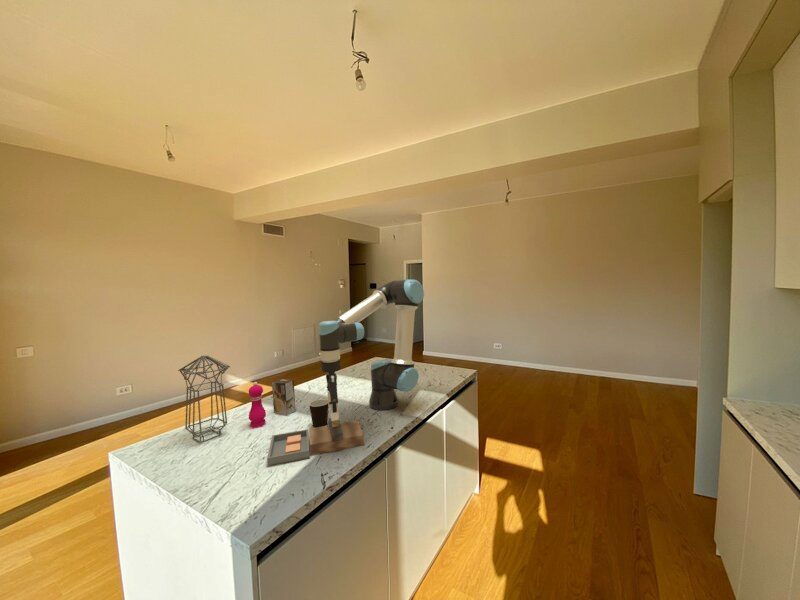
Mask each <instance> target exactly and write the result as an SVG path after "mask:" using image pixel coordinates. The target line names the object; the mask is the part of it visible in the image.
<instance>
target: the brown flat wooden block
mask: <svg viewBox="0 0 800 600" xmlns="http://www.w3.org/2000/svg"><path fill="white" fill-rule="evenodd" d="M340 425H341V428H342V432H343V440H340V441H334V442H332V437H331V432H330V427H329V424H327V425H326V426H322V427H316V428H315V427H312V428H309V429H308V430H309V455H310V456H315V455H320V454H324V453H331V452H335V451H340V450H341V451H342V450H345V449H350V448H355V447H360V446H365V437H364V432H363V429H362V428H361V425H360V423H359V420H353V421H346V422H345V421H344V422H340Z"/></svg>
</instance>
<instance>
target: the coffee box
mask: <svg viewBox="0 0 800 600" xmlns="http://www.w3.org/2000/svg"><path fill="white" fill-rule="evenodd" d="M294 381H295V380H294V379H287V378H286V379H285V378H279V379H276V380H274V381H272V382H271V389H272V406H273V414H274V413H275V414H276V415H284V416H289V415H291V414H292V413H294V412H296V411H297V408H296V395H295V382H294Z"/></svg>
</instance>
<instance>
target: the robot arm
mask: <svg viewBox="0 0 800 600" xmlns="http://www.w3.org/2000/svg"><path fill="white" fill-rule="evenodd" d="M424 297H425V291H424V287H423V285H422V284H421V282H420V281H418V280H417V279H398V280H392V281H389V282H387V283H385V284H383V285H382V286H380V287H379V288H377V289H375V290H374V291H373V292H372V295H370V296H368V297H367V298H365V299H364V300H362V301H361V302H358V304H356V305H355V306H353V307H352V308H350V309H348V310H347V311H345V312H343V313H342V314H341V315H339V316H337V317H336V318H335V319H333V320H325V321H324V320H323V321H321V322H320V323H319V324H318V338H319V350H320V351H319V353H318V356H320V371H321V372H323V373H326V374H325V380H326V390H327V400H328V409H330V418H331V421H335V420H339V421H340V418H339V417H340V416H339V397H338V386H337V385H338V381H337V380H338V375H337V373H336V372H338V371H340V370H341V360H340V359H341V349H340V348H341V347H340V344H344V343H350V342H357V341H359V340H362V339H363V338H364V336H365V327H364V325H363V324H362V323H361V321H363V320H364V319H365V318H367V317H369V316H370V315H372V313H374V312H376V311H378V310H379V309H381V308H385V307H386V306H388V305H391V304H394V306H395V308H396V309H397V314H396V328H395V341H394V355H393V359H391V358H389V359H387V358H386V359H380V360H376V361H373V362H372V363H371V364H370V380H371V394H370V397H369V400H368V401H369V404H368V405H369V407H370V409H372V410H377V411H387V410H392V409H395V408H396V407H398V406H399V398H398V396H397V392H396V391H399V392H404V393H406V392H407V393H408V392H411V391H412V390H413V389H414V388H415V387H416V386H417V384H418V381H419V371H418V370H417V369H416V368H415V362H414V361H413V359H412V358H413V357H412V356H413V344H414V327H415V314H416V313H415V312H416V310H417V309H419V304H421V302H423V299H424Z"/></svg>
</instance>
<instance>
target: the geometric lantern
mask: <svg viewBox="0 0 800 600" xmlns="http://www.w3.org/2000/svg"><path fill="white" fill-rule="evenodd" d="M206 363H207V364H206ZM201 365H202V366H201ZM213 365H216V368H217V369H213ZM206 367H208V368H206ZM229 368H231V366H230V365H229V364H226V363H225V362H222V361H220V360H218V359H215V358H213V357H211V356H209V355H201V356H199V357H198V358H196V359H194V360H192V361H191V362H189V363H188V364H186V365H184V366H182V367H181V368H179V369H178V370H177V371H178V372H180V374H181V375H182V377H183V380H185V385H186V403H185V405H186V406H185V426H184V427H185V428H184V429H185V430H186V431H188V433H190V434H192V439H193V440H194V441H196V442H198V443H201V444H202V443H205V442H207V441H209V440H211V439H214V438H217V437H219V436H221V433H222V430H223V428H225V427H226V425H228V419H227V418H228V417H227V410H226V408H227V407H226V401H225V399H226V398H225V389H224V384H223V381H222V380H223V379H222V378H223V377H222V376H223V374H225V372H226V371H227V370H229ZM199 369H202V371H198V370H199ZM209 369H210V370H209ZM194 371H195V372H194ZM217 371H218V372H217ZM215 372H217V373H216V374H215ZM208 373H212V374H213V375H212V376H210V377H209V376H208V375H207V374H208ZM187 375H188V376H187ZM191 375H193V378H192V380H190V377H191ZM196 376H199V377H201V378H203V379H204V380H203V381H202V382H201V383H200V384H195V385H193V383H194V381H195V378H196ZM216 376H217V377H216ZM219 377H220V382H219V381H218V379H219ZM211 379H215V380H214V381H212V380H211ZM206 380H208V381H209V382H205V381H206ZM188 383H189V384H188ZM206 384H210V388H209V387H208V388H204V389H200V388H201V386H202V385H206ZM213 384H214V387H213ZM188 385H189V386H188ZM194 387H198V388H197V389H195V388H194ZM217 388H219V397H220V398H219V399H220V408H221V415H222V416H221V417H222V419H221V418H220V415H219V402H218V392H217ZM199 389H200V390H199ZM213 389H214V391H215V402H216V404H215V405H216V413H217V414H216V415H217V418H216V417H215V418H213V415H214V414H213V411H214V409H213V405H214V404H213ZM207 390H210V404H211V405H210V410H211V411H210V413H211V414H210V419H206V420H204V421H203V420H202V419H201V406H200V405H201V402H200V392H202V391H207ZM192 392H193V393H192ZM192 394H193V396H192ZM196 394H197V404H198V405H197V406H198V409H197V410H198V421H199V422H196V423H195V417H196V415H195V413H196V412H195V411H196V410H195V409H196V406H195V405H196ZM192 397H193V398H192ZM192 400H193V401H192ZM192 402H193V405H192ZM188 404H189V406H188ZM191 406H192V407H191ZM191 410H192V424H191ZM201 420H202V421H201ZM215 420H216V421H215ZM213 421H215V422H214V423H213V425H212V422H213ZM218 421H221V422H222V424H223V425H219V426H217V427H216V426H215V425H216V424H217V422H218ZM206 422H210V425H209V426H208V427H204V428H202V424H203V423H206ZM197 425H199V426H198V427H199V430H196V431H195V426H197ZM191 427H192V428H191ZM215 433H216V434H218V435H215V436H213V437H210V438H207V439H205V437H208V436H210V435H212V434H215ZM204 434H205V435H204ZM197 437H198V438H199V440H198V439H196V438H197Z"/></svg>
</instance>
